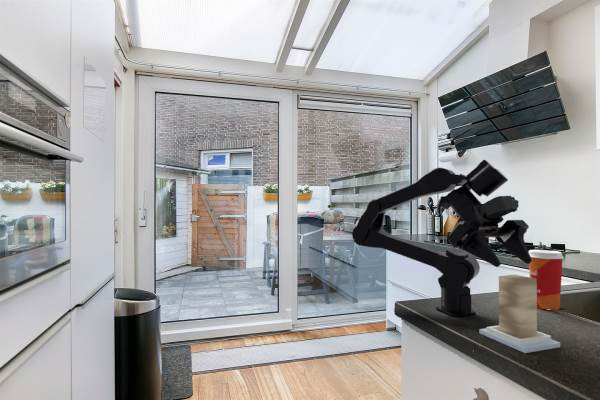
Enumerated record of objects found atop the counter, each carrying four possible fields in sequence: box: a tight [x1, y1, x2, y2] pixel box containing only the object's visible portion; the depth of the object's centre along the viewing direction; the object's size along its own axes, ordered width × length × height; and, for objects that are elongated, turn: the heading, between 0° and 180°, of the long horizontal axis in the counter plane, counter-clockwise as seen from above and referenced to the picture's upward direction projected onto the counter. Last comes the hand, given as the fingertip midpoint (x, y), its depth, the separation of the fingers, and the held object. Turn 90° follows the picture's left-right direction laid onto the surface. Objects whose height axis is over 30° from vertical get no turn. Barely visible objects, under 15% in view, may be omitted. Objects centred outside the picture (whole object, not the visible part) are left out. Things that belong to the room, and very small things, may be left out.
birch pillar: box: [498, 274, 538, 339], centre depth 67 cm, size 4×4×11 cm
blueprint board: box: [478, 324, 561, 354], centre depth 67 cm, size 10×8×2 cm
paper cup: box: [528, 249, 565, 312], centre depth 88 cm, size 8×8×14 cm
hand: (514, 264), depth 72 cm, fingers open, 9 cm apart
